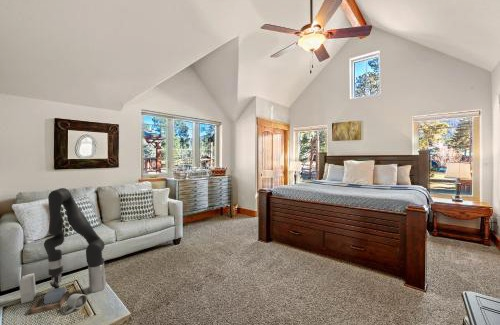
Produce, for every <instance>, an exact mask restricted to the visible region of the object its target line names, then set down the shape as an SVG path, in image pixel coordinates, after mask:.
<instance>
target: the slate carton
mask: <svg viewBox="0 0 500 325" xmlns="http://www.w3.org/2000/svg"><path fill="white" fill-rule="evenodd" d="M66 292H67V286H62V287H59V288H57V289H54V288H53V289H48V291H47V293H46V294H45V295H44V298H43V299H44V300H43V301H44V305H45V304H47V305H48V304H51V303H56V302H60V301H61V299H62V297H63V296H64V294H65V293H66Z"/></svg>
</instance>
